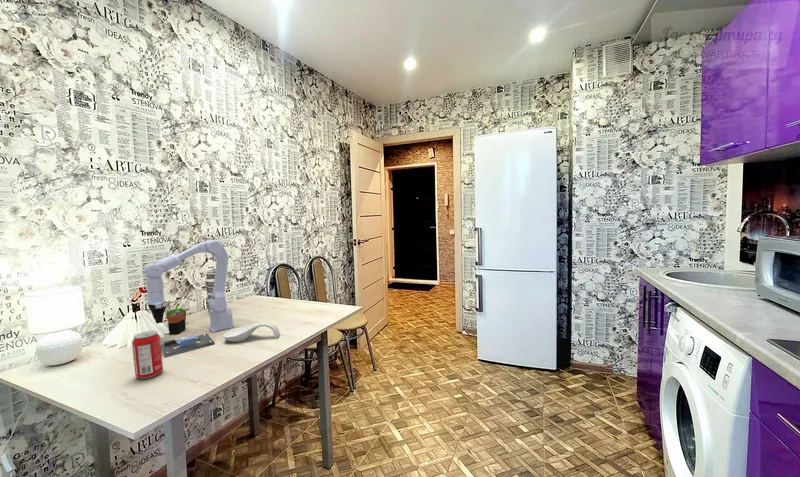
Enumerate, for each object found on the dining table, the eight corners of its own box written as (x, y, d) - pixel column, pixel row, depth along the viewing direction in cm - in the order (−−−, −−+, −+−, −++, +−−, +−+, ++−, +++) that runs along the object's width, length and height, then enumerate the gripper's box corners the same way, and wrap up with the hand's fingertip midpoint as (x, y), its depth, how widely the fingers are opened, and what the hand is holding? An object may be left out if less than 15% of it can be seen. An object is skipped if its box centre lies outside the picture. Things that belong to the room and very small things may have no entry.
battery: (186, 329, 165) (184, 309, 164) (178, 334, 158) (176, 314, 157) (177, 330, 164) (175, 310, 164) (168, 335, 158) (166, 314, 157)
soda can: (141, 382, 113) (137, 339, 111) (131, 377, 117) (127, 335, 115) (167, 372, 119) (163, 332, 118) (157, 367, 123) (153, 328, 122)
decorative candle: (205, 313, 190) (201, 270, 188) (222, 309, 197) (218, 268, 195) (211, 316, 184) (207, 272, 182) (228, 312, 191) (225, 269, 189)
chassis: (206, 335, 155) (206, 331, 155) (214, 344, 144) (214, 339, 144) (159, 347, 143) (159, 342, 143) (164, 357, 132) (163, 352, 132)
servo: (197, 342, 147) (196, 333, 147) (199, 344, 145) (198, 335, 145) (177, 347, 142) (176, 338, 142) (178, 349, 140) (177, 340, 140)
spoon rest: (218, 346, 143) (217, 329, 142) (230, 335, 155) (229, 320, 154) (275, 342, 145) (274, 326, 144) (282, 332, 157) (281, 317, 156)
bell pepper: (180, 327, 168) (178, 308, 167) (164, 328, 168) (162, 308, 167) (190, 322, 176) (189, 303, 176) (175, 322, 176) (173, 304, 176)
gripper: (142, 290, 149) (145, 319, 150) (145, 295, 139) (148, 327, 140) (161, 287, 154) (164, 315, 155) (166, 292, 143) (169, 322, 144)
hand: (158, 320), depth 148 cm, fingers open, 7 cm apart
